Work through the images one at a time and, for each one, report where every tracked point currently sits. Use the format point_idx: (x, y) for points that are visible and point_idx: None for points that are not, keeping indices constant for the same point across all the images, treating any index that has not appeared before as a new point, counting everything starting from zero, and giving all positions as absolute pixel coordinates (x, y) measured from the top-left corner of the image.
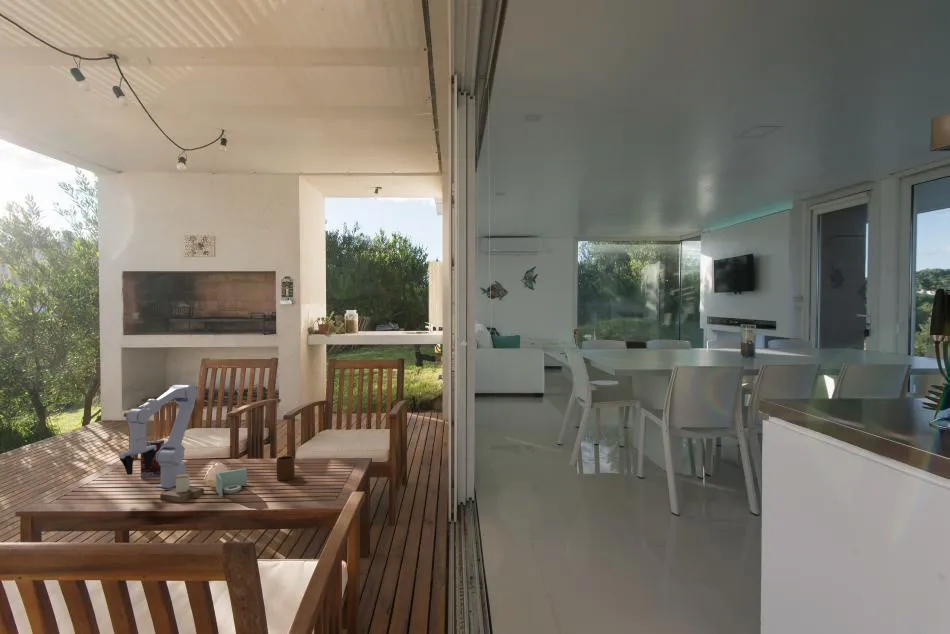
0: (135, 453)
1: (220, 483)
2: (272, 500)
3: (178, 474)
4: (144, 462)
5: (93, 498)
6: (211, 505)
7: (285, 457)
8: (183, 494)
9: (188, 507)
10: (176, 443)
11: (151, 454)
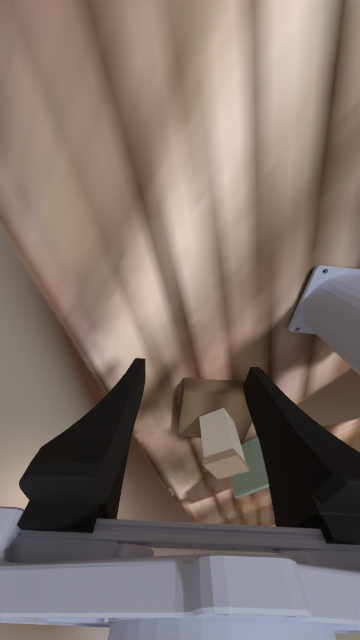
0: (170, 546)
1: (233, 485)
2: (218, 499)
3: (236, 455)
4: (271, 397)
5: (122, 82)
6: (180, 461)
7: None
8: (193, 432)
9: (160, 443)
10: None
11: (275, 517)
